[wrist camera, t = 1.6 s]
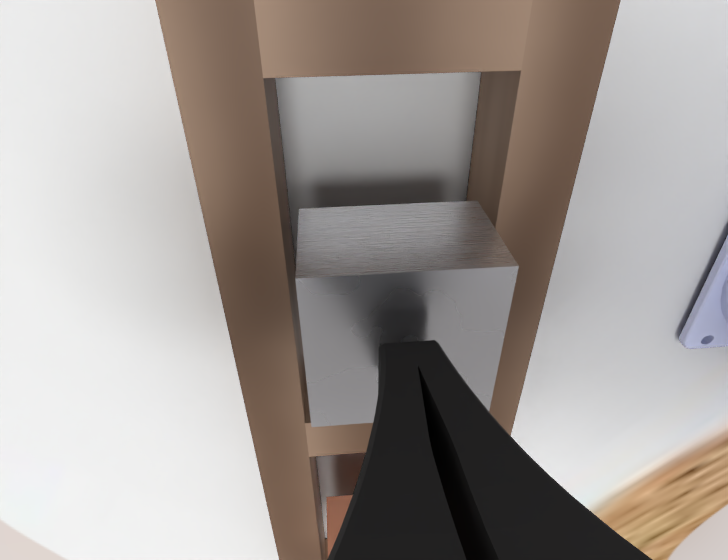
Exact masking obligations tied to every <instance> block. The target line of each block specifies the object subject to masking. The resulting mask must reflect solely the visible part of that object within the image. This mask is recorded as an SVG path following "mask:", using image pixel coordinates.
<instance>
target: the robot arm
mask: <svg viewBox="0 0 728 560" xmlns="http://www.w3.org/2000/svg"><path fill="white" fill-rule="evenodd" d="M679 341H680V342H681V344H682V345H683V346H684V347H686V348H689V349H693V348H708V347H722V346H728V236H727V238H726V240H725V242H724V244H723V246H722V248H721V250H720V252H719V255H718V257H717V259H716V261H715V263H714V265H713V267H712V269H711V271H710V273H709V276H708V278H707V280H706V282H705V284H704V286H703V288H702V290H701V292H700V294H699V297H698V299H697V301H696V303H695V305H694V307H693V309H692V311H691V313H690V315H689V318H688V320H687V322H686V324H685V326H684V328H683V330H682V332H681V334H680V337H679ZM327 560H652V559H651V558H649V557H648V556H647V555H645V554H644V553H643V552H641V551H640V550H639V549H637V548H636V547H635V546H633V545H632V544H631V543H629V542H628V541H627V540H625V539H624V538H623V537H621V536H620V535H619V534H618V533H616V532H615V531H614V530H613V529H611V528H610V527H609V526H608V525H607V524H605V523H604V522H603V521H602V520H600V519H599V518H598V517H597V516H596V515H594V514H593V513H592V512H591V511H589V510H588V509H587V508H586V507H585V506H583V505H582V504H581V503H580V502H578V501H577V500H576V499H575V498H574V497H573V496H571V495H570V494H569V493H568V492H567V491H566V490H565V489H564V488H563V487H561V486H560V485H559V484H558V483H557V482H556V481H555V480H554V479H553V478H552V477H550V476H549V475H548V474H547V473H546V472H545V471H544V470H543V469H542V468H541V467H540V466H539V465H538V464H537V463H536V462H535V461H534V460H533V459H532V458H531V457H530V456H529V455H528V454H527V453H526V452H525V451H524V450H523V449H522V448H521V447H520V446H519V445H518V444H517V443H516V442H515V440H514V439H513V438H512V437H511V436H510V435H509V434H508V433H507V432H506V431H505V429H504V428H503V427H502V426H501V425H500V424H499V423H498V422H497V420H496V419H495V418H494V417H493V416H492V415H491V413H490V412H489V411H488V410H487V409H486V407H485V406H484V405H483V404H482V402H481V401H480V400H479V399H478V397H477V396H476V395H475V394H474V392H473V391H472V390H471V389H470V387H469V386H468V385H467V383H466V382H465V381H464V379H463V378H462V377H461V375H460V374H459V373H458V371H457V370H456V368H455V367H454V366H453V364H452V363H451V361H450V360H449V358H448V357H447V355H446V354H445V352H444V351H443V349H442V348H441V346H440V344H439V343H438V342H437V341H435V340H428V341H413V342H397V343H383V344H382V345H381V346H380V347H379V363H378V399H377V405H376V411H375V417H374V421H373V426H372V430H371V434H370V438H369V442H368V446H367V450H366V454H365V458H364V461H363V465H362V468H361V471H360V474H359V478H358V481H357V484H356V487H355V490H354V493H353V496H352V498H351V501H350V504H349V507H348V509H347V512H346V515H345V518H344V520H343V523H342V526H341V528H340V531H339V533H338V536H337V538H336V541H335V543H334V545H333V547H332V550H331V552H330V554H329V557H328V559H327Z"/></svg>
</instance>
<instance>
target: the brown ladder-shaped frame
mask: <svg viewBox="0 0 728 560" xmlns="http://www.w3.org/2000/svg"><path fill="white" fill-rule="evenodd" d="M155 1H156V6H157V10H158V15H159V19H160V24H161V28H162V33H163V37H164V42H165V46H166V51H167V55H168V60H169V64H170V69H171V73H172V78H173V82H174V87H175V91H176V96H177V100H178V105H179V109H180V114H181V118H182V123H183V127H184V132H185V136H186V141H187V145H188V150H189V155H190V159H191V164H192V168H193V173H194V177H195V182H196V186H197V191H198V195H199V200H200V204H201V209H202V213H203V218H204V222H205V227H206V231H207V236H208V240H209V245H210V249H211V254H212V258H213V263H214V267H215V272H216V276H217V281H218V285H219V290H220V294H221V299H222V303H223V308H224V313H225V317H226V322H227V326H228V331H229V335H230V340H231V344H232V349H233V353H234V358H235V362H236V367H237V371H238V376H239V380H240V385H241V389H242V394H243V398H244V403H245V407H246V412H247V416H248V421H249V425H250V430H251V434H252V439H253V443H254V448H255V452H256V457H257V461H258V466H259V471H260V475H261V480H262V484H263V489H264V493H265V498H266V502H267V507H268V511H269V516H270V520H271V525H272V529H273V534H274V538H275V543H276V547H277V552H278V556H279V560H327V559H328V541H327V539H325V536H324V527H323V517H322V508H321V499H320V490H319V480H318V471H317V462H316V456H327V455H339V454H352V453H365V452H366V450H367V446H368V442H369V438H370V434H371V430H372V426H373V423H361V424H348V425H335V426H321V427H311V418H310V409H309V400H308V391H307V382H306V372H305V363H304V354H303V345H302V336H301V327H300V318H299V309H298V300H297V291H296V282H295V272H296V267H295V258H294V249H293V240H292V230H291V221H290V212H289V203H288V193H287V184H286V175H285V166H284V156H283V147H282V138H281V128H280V119H279V110H278V101H277V91H276V82H275V78H285V77H319V76H352V75H386V74H420V73H453V72H482V73H481V81H480V90H479V98H478V106H477V115H476V123H475V131H474V140H473V148H472V156H471V165H470V173H469V181H468V190H467V198H466V201H475V200H477V201H478V202H479V204H480V205H481V207H482V209H483V210H484V212H485V213H486V215H487V217H488V218H489V220H490V221H491V223H492V224H493V226H494V228H495V229H496V231H497V232H498V234H499V235H500V237H501V239H502V240H503V242H504V243H505V245H506V247H507V248H508V250H509V251H510V253H511V254H512V256H513V258H514V259H515V261H516V262H517V264H518V265H519V268H518V273H517V278H516V283H515V287H514V292H513V297H512V302H511V307H510V312H509V317H508V322H507V327H506V331H505V336H504V341H503V346H502V351H501V356H500V361H499V366H498V371H497V375H496V380H495V385H494V390H493V395H492V400H491V405H490V410H489V412H490V413H491V415H492V416H493V417H494V418H495V419H496V420H497V422H498V423H499V424H500V425H501V426H502V427H503V428H504V429H505V431H506V432H507V433H508V434H509V435H511V432H512V428H513V424H514V420H515V416H516V412H517V408H518V404H519V400H520V396H521V392H522V388H523V384H524V380H525V376H526V372H527V368H528V364H529V360H530V356H531V352H532V348H533V344H534V341H535V337H536V333H537V329H538V325H539V321H540V317H541V313H542V309H543V305H544V301H545V297H546V293H547V289H548V285H549V281H550V277H551V273H552V269H553V265H554V261H555V257H556V254H557V250H558V246H559V242H560V238H561V234H562V230H563V226H564V222H565V218H566V214H567V210H568V206H569V202H570V198H571V194H572V190H573V186H574V182H575V178H576V174H577V170H578V167H579V163H580V159H581V155H582V151H583V147H584V143H585V139H586V135H587V131H588V127H589V123H590V119H591V115H592V111H593V107H594V103H595V99H596V95H597V91H598V87H599V83H600V79H601V76H602V72H603V68H604V64H605V60H606V56H607V52H608V48H609V44H610V40H611V36H612V32H613V28H614V24H615V20H616V16H617V12H618V8H619V4H620V0H155Z"/></svg>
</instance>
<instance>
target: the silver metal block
mask: <svg viewBox="0 0 728 560" xmlns="http://www.w3.org/2000/svg"><path fill="white" fill-rule="evenodd" d="M518 268H519V265H518V264H517V262H516V261H515V259H514V258H513V256H512V254H511V253H510V251H509V250H508V248H507V247H506V245H505V243H504V242H503V240H502V239H501V237H500V235H499V234H498V232H497V231H496V229H495V228H494V226H493V224H492V223H491V221H490V220H489V218H488V217H487V215H486V213H485V212H484V210H483V209H482V207H481V205H480V204H479V202H478V201H477V200H475V201H454V202H432V203H411V204H390V205H368V206H347V207H325V208H304V209H299V218H298V236H297V254H296V272H295V282H296V291H297V300H298V309H299V318H300V327H301V336H302V345H303V354H304V363H305V372H306V382H307V391H308V400H309V409H310V418H311V427H321V426H335V425H348V424H361V423H373V421H374V417H375V411H376V405H377V399H378V363H379V347H380V346H381V345H382V344H383V343H397V342H413V341H428V340H435V341H437V342H438V343H439V344H440V346H441V348H442V349H443V351H444V352H445V354H446V355H447V357H448V358H449V360H450V361H451V363H452V364H453V366H454V367H455V368H456V370H457V371H458V373H459V374H460V375H461V377H462V378H463V379H464V381H465V382H466V383H467V385H468V386H469V387H470V389H471V390H472V391H473V392H474V394H475V395H476V396H477V397H478V399H479V400H480V401H481V402H482V404H483V405H484V406H485V407H486V409H487V410H488V411H489V410H490V405H491V400H492V395H493V390H494V385H495V380H496V375H497V371H498V366H499V361H500V356H501V351H502V346H503V341H504V336H505V331H506V327H507V322H508V317H509V312H510V307H511V302H512V297H513V292H514V287H515V283H516V278H517V273H518Z"/></svg>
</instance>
